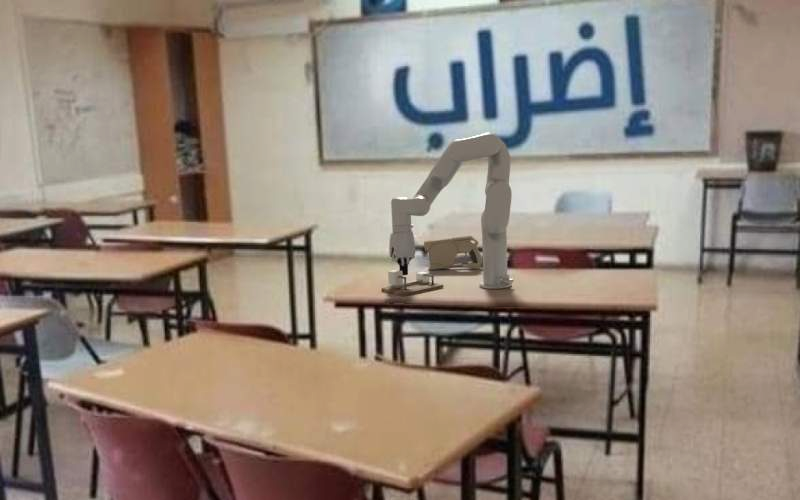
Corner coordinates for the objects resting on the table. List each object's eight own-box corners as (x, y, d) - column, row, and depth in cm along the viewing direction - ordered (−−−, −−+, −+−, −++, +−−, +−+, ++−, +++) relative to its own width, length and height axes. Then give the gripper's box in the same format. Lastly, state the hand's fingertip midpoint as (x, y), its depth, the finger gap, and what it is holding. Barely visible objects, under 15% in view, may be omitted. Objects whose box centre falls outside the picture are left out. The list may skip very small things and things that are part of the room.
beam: (436, 283, 318) (436, 274, 317) (399, 291, 306) (399, 282, 306) (423, 280, 324) (423, 271, 324) (386, 288, 313) (386, 279, 312)
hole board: (443, 287, 315) (443, 284, 315) (403, 296, 303) (403, 293, 303) (420, 282, 326) (420, 279, 326) (381, 291, 314) (381, 287, 314)
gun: (483, 267, 352) (479, 234, 349) (483, 269, 349) (479, 235, 346) (428, 273, 355) (424, 240, 352) (428, 275, 351) (423, 241, 349)
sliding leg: (410, 288, 309) (409, 272, 308) (402, 289, 307) (401, 273, 306) (396, 285, 316) (396, 269, 315) (388, 286, 313) (388, 271, 312)
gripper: (410, 225, 319) (412, 270, 322) (380, 230, 310) (383, 276, 313) (422, 227, 313) (424, 273, 317) (392, 232, 304) (394, 279, 308)
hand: (403, 274), depth 315 cm, fingers closed
